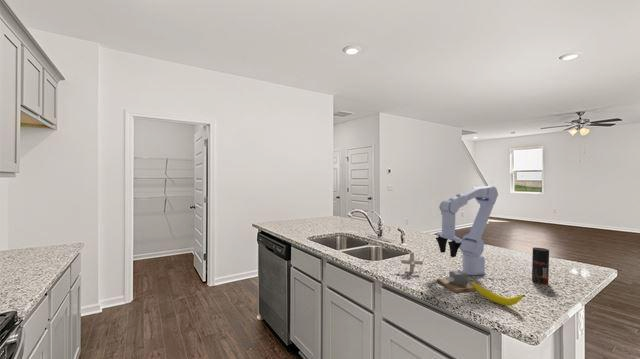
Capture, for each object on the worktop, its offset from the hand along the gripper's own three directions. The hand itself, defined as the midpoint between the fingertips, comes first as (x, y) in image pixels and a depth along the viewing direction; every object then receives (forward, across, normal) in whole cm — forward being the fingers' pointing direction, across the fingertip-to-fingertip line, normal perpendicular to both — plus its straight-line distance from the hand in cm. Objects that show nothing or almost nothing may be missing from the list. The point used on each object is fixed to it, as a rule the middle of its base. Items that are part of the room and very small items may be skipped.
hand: (447, 254), depth 135 cm
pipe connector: (+11, -8, -14) cm, 19 cm away
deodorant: (+10, +14, +37) cm, 41 cm away
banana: (+11, +28, 0) cm, 30 cm away
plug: (+9, +11, -3) cm, 15 cm away
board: (+10, +11, -3) cm, 15 cm away
